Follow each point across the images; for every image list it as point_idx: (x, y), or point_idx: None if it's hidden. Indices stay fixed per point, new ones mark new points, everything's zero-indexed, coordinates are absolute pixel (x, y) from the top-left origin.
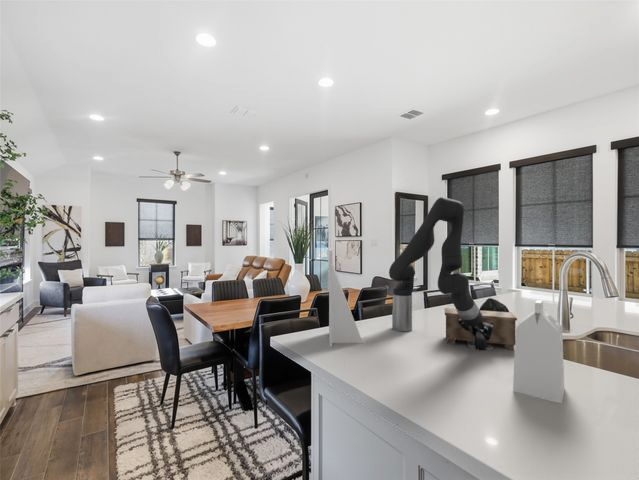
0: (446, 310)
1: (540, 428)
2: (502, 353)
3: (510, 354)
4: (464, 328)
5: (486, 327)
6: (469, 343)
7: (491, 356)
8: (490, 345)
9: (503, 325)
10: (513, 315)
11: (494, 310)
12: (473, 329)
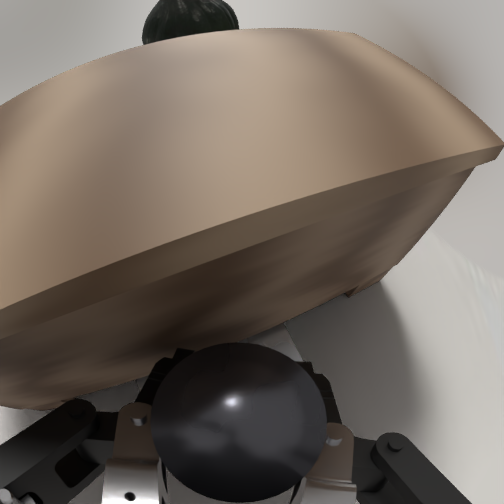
0: None
1: None
2: (368, 395)
3: (401, 375)
4: (73, 464)
5: (350, 475)
6: None
7: None
8: (280, 337)
9: (412, 209)
10: (429, 79)
11: (196, 19)
12: None
